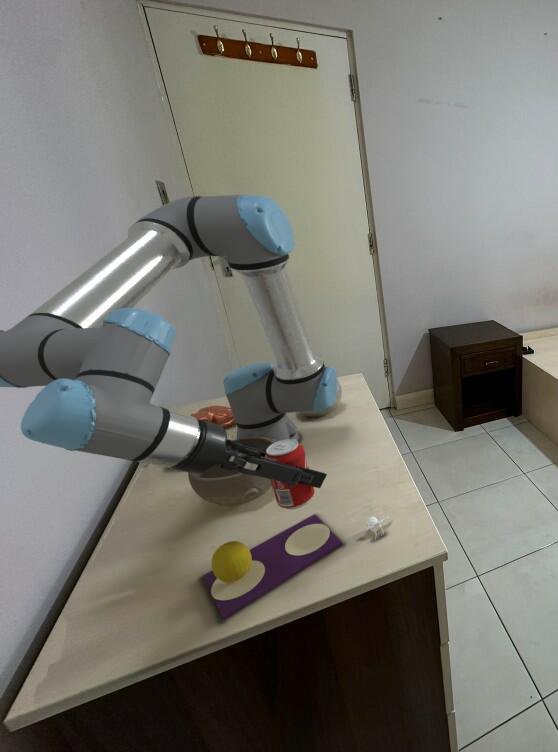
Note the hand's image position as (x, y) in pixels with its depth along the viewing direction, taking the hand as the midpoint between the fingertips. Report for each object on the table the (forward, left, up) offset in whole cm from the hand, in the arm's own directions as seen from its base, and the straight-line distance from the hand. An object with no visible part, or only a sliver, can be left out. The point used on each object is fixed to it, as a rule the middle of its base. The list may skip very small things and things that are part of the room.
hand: (310, 474), depth 76 cm
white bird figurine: (+9, +6, -14) cm, 18 cm away
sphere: (-52, +22, -14) cm, 58 cm away
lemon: (+1, -16, -13) cm, 20 cm away
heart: (-67, -3, -14) cm, 69 cm away
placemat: (+1, -10, -14) cm, 17 cm away
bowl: (-26, -7, -14) cm, 30 cm away
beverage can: (+1, -4, -4) cm, 5 cm away
